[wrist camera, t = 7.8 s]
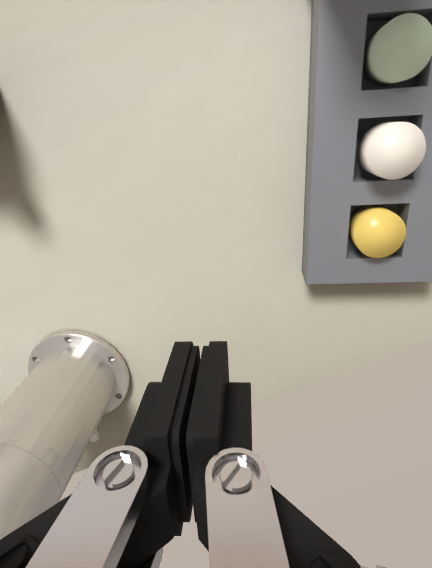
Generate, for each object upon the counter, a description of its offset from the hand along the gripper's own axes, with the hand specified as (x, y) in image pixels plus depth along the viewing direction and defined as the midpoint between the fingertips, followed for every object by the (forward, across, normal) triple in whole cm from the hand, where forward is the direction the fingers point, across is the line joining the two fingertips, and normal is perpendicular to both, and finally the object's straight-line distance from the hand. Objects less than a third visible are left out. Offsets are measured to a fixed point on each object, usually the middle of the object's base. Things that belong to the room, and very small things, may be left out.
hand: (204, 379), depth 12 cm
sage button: (+26, -13, -12) cm, 31 cm away
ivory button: (+25, -13, -5) cm, 28 cm away
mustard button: (+26, -13, +2) cm, 29 cm away
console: (+27, -13, -5) cm, 30 cm away
